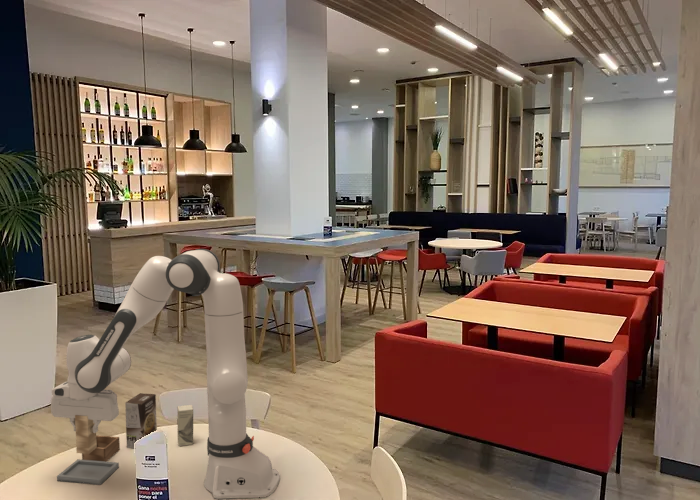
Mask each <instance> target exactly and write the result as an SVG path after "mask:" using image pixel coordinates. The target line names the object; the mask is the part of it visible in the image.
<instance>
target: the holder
mask: <svg viewBox="0 0 700 500" xmlns="http://www.w3.org/2000/svg"><path fill="white" fill-rule="evenodd" d="M96 443H97V448H96V449H95V450H93V451H92V452H91V453H90V454H82V453H81V460H93V461H105V462H109V460H110V459H111V458H112V457H114V456H115V455H116V453H117V454H118V452H119V451H120V450H121V446H120V443H121V442H120V436H110V435H99V434H98V435H97V434H96Z"/></svg>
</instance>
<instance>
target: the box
mask: <svg viewBox="0 0 700 500" xmlns="http://www.w3.org/2000/svg"><path fill="white" fill-rule="evenodd" d="M176 408H177V445H178V446H179V447H181V446H192V445H194V406H193V404H189V405H188V404H187V405H186V404H185V405H178V406H177V407H176Z"/></svg>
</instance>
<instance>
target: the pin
mask: <svg viewBox="0 0 700 500" xmlns="http://www.w3.org/2000/svg"><path fill="white" fill-rule="evenodd" d="M94 424H95V423H93V420H89V419H88V416H80V415H75V426H76V431H75V444H76V445H75V446H76V447H75V448H76V449H75V450H76V454H81V455H82V454H90V453H91V452H92V451H93V450H95V449H96V448H97V443H96V435H97V432H96V433H91V432H90V431H91V430H90V428H91V427H92V426H93V425H94Z"/></svg>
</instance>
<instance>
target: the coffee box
mask: <svg viewBox="0 0 700 500" xmlns="http://www.w3.org/2000/svg"><path fill="white" fill-rule="evenodd" d="M156 397H157V394H155V393H154V394H153V393H143V392H142V393H138V394H137V395H135V396H134V397H132V398H130V399H129V400H127V401H126V402H124V404H125V430H126V431H125V434H126V438H125V439H126V448H129V449H130V448H131V449H135V448H134V443H135V442H136V441H137V440H139V439H141V438H142V437H144V436H146V435H148V434H150V433H151V432H154V431H156V430H157V431H158V426H157V398H156Z"/></svg>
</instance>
